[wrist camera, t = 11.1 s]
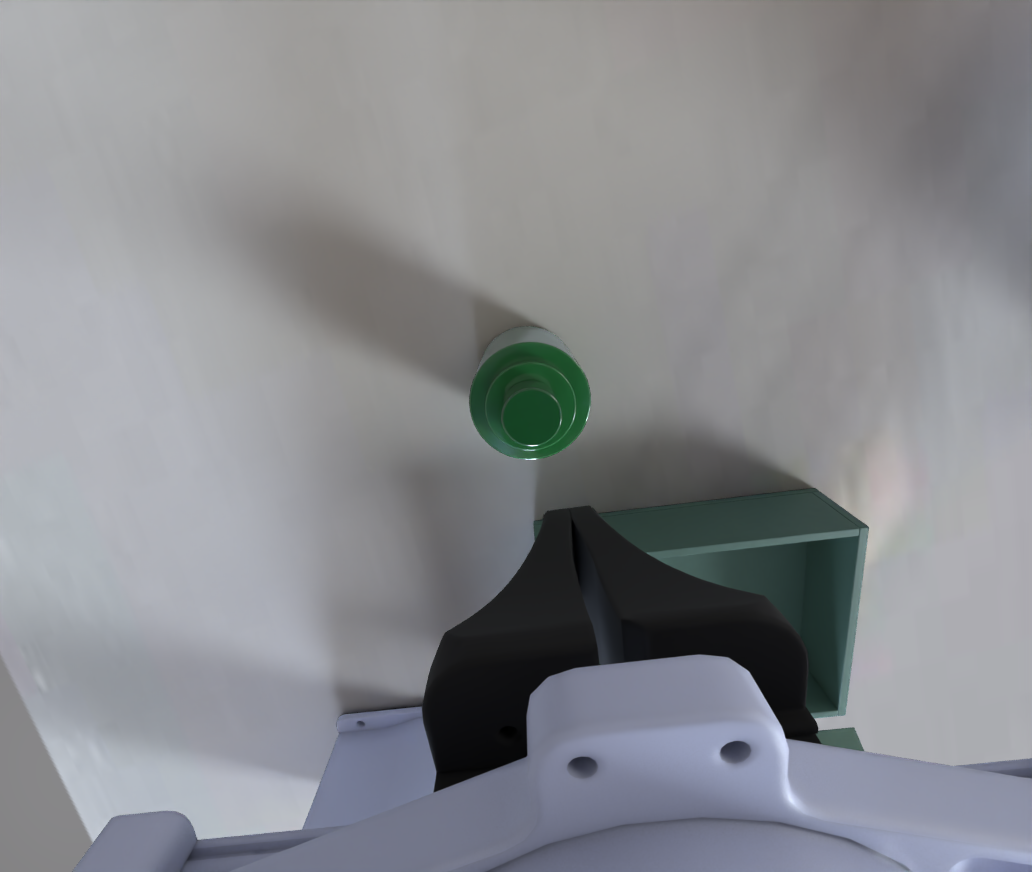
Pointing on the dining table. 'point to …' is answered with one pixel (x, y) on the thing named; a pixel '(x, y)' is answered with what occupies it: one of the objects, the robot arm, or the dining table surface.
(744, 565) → the case
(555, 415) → the bottle
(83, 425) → the dining table surface
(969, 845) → the robot arm
